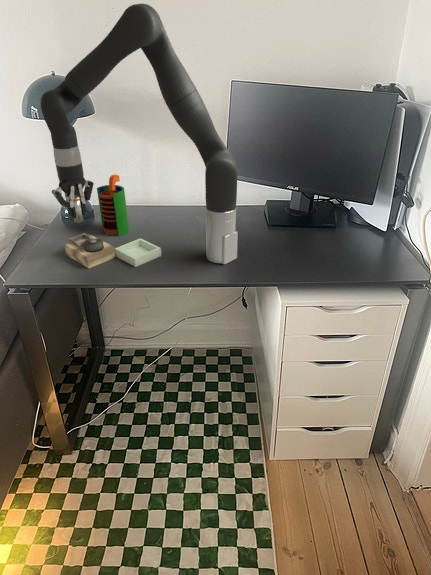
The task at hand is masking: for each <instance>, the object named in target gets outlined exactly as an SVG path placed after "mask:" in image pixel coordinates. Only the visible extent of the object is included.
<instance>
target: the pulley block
mask: <svg viewBox="0 0 431 575" xmlns="http://www.w3.org/2000/svg"><path fill="white" fill-rule="evenodd" d="M114 248H115V246H113V245H112V244H109V243H108V242H105V241H104V240H102V239H101V238H98V237H96V236H94V235H92V234H87V233H86V232H83V233H80V234H77V235H75V236H71V237H69V238H68V242H66V243H64V249H65V255H66V256H67V257H69V258H70V259H72V260H74V261H75V262H77V263H79V264H80V265H82V266H84V267H85V268H87V269H91V268H93V267H95V266H96V267H97V266H98V265H100V264H103V263H106V262H108V261H110V260H112V259H116V256H115V249H114Z"/></svg>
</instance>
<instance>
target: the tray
mask: <svg viewBox="0 0 431 575" xmlns="http://www.w3.org/2000/svg"><path fill="white" fill-rule="evenodd" d="M114 253H115V258H118V259H120V260H122V261H124V262H125V263H127V264H129V265H131V266H132V267H135V268H137V267H139V266H141V265H144V264H146V263H149V262H150V261H152V260H155V259H157V258H160V257H162V248H161V247H159V246H158V245H155V244H153V243H151V242H149V241H147V240H145V239H143V238H138V239H135V240H133V241H130V242H128V243H125V244H123V245H120V246H117V247H114Z"/></svg>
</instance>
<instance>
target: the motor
mask: <svg viewBox="0 0 431 575" xmlns="http://www.w3.org/2000/svg"><path fill="white" fill-rule="evenodd" d="M120 181H121V180H120V175H118V174H112V175H110V176H109V180H108V184H106V185H101V186H98V187H97V188H96V191H97V199H98V205H99V211H100V219H101V224H102V230H103V232H104V234H105V235H107V236H118V237H121V236H124V235H126V234H128V233H129V231H130V228H129V218H128V209H127V203H126V202H127V200H126V192H125V188H124V186H122V185H119V184H116V183H117V182H120Z"/></svg>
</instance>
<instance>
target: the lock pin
mask: <svg viewBox="0 0 431 575" xmlns="http://www.w3.org/2000/svg"><path fill="white" fill-rule="evenodd" d="M80 199H81V197H80V196H78V195H74V208H75V213H76V218H73V220H74V223H82V222H84V221H85V220H84V215H83V214H82V208H81V203H80Z"/></svg>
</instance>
